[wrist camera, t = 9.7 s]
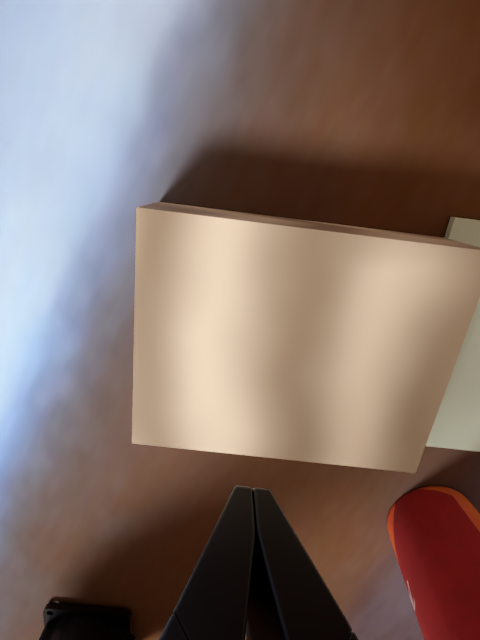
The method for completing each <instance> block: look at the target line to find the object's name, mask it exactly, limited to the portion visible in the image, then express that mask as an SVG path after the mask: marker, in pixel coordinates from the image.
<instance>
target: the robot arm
mask: <svg viewBox="0 0 480 640" xmlns="http://www.w3.org/2000/svg"><path fill="white" fill-rule="evenodd" d="M43 616H44V626H45V627H44V630H43V632H42V634H41V636H40V639H39V640H136V637H135V636H134V634H132V613H131V612H130V611H129V610H123V609H112V608H101V607H90V606H79V605H68V604H57V603H49V604H47V605H46V607H45V609H44V611H43ZM351 631H352V628H351V626H350V625H349V623H348V621H347V620H346V618H345V616H344V615H343V613H342V611H341V609H340V608H339V606H338V604H337V603H336V601H335V599H334V598H333V596H332V594H331V592H330V591H329V589H328V587H327V586H326V584H325V582H324V581H323V579H322V577H321V575H320V574H319V572H318V570H317V569H316V567H315V565H314V564H313V562H312V560H311V559H310V557H309V555H308V553H307V552H306V550H305V548H304V547H303V545H302V543H301V542H300V540H299V538H298V536H297V535H296V533H295V531H294V530H293V528H292V526H291V525H290V523H289V521H288V519H287V518H286V516H285V514H284V513H283V511H282V509H281V508H280V506H279V504H278V503H277V501H276V499H275V497H274V496H273V494H272V492H271V491H270V490H269V489H265V488H253V489H252V488H251V487H247V486H238V485H237V486H235V487H234V489H233V491H232V493H231V495H230V497H229V499H228V501H227V503H226V505H225V507H224V509H223V511H222V513H221V515H220V517H219V519H218V521H217V523H216V525H215V527H214V529H213V531H212V533H211V535H210V537H209V539H208V542H207V544H206V546H205V548H204V550H203V552H202V554H201V556H200V558H199V560H198V562H197V564H196V566H195V568H194V570H193V572H192V574H191V576H190V578H189V580H188V582H187V584H186V586H185V588H184V590H183V592H182V594H181V596H180V598H179V600H178V602H177V604H176V607H175V609H174V611H173V614H172V615H171V616H170V618H169V620H168V622H167V624H166V626H165V628H164V630H163V632H162V634H161V636H160V638H159V640H245V635H246V636H247V640H358V638H357V636H356V635H355V633H354V632H352V633H351Z"/></svg>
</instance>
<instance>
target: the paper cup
mask: <svg viewBox="0 0 480 640" xmlns="http://www.w3.org/2000/svg"><path fill="white" fill-rule="evenodd" d="M387 527H388V531H389V535H390V538H391V541H392V545H393V548H394V551H395V554H396V557H397V560H398V563H399V566H400V569H401V572H402V575H403V578H404V581H405V584H406V587H407V590H408V593H409V596H410V599H411V602H412V605H413V608H414V611H415V614H416V617H417V619H418V622H419V625H420V628H421V631H422V634H423V637H424V640H480V513H479V512H478V511H477V510H476V509H475V507H474V506H473V505H472V504H471V503H470V502H469V500H468V499H467V498H466V497H465V496H464V495H462V494H461V493H460V492H458V491H457V490H454V489H452V488H449V487H444V486H427V487H422V488H418V489H415V490H413V491H410V492H408V493H407V494H405V495H403V496H402V497H401V498H399V499H398V500H397V501H396V502H395V503H394V504H393V506H392V507H391V509H390V511H389V513H388V516H387Z"/></svg>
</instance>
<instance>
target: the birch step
mask: <svg viewBox="0 0 480 640" xmlns="http://www.w3.org/2000/svg"><path fill="white" fill-rule="evenodd" d="M479 298H480V247H476V246H472V245H469V244H465V243H462V242H458V241H455V240H451V239H448V238H444V237H436V236H428V235H420V234H412V233H404V232H396V231H388V230H380V229H372V228H364V227H356V226H349V225H341V224H333V223H325V222H317V221H309V220H301V219H293V218H285V217H277V216H269V215H261V214H253V213H245V212H237V211H229V210H221V209H213V208H205V207H197V206H189V205H181V204H173V203H165V202H156V203H152V204H148V205H144V206H140V207H137V210H136V260H135V310H134V359H133V409H132V443H133V444H142V445H152V446H161V447H171V448H180V449H190V450H199V451H209V452H219V453H228V454H238V455H247V456H257V457H266V458H276V459H285V460H295V461H304V462H314V463H323V464H333V465H342V466H352V467H361V468H371V469H380V470H390V471H400V472H409V473H416V471H417V468H418V465H419V462H420V460H421V457H422V454H423V451H424V449H425V446H426V443H427V440H428V438H429V435H430V432H431V429H432V427H433V424H434V421H435V418H436V416H437V413H438V410H439V407H440V405H441V402H442V399H443V396H444V394H445V391H446V388H447V385H448V383H449V380H450V377H451V374H452V372H453V369H454V366H455V363H456V361H457V358H458V355H459V353H460V350H461V347H462V344H463V342H464V339H465V336H466V333H467V331H468V328H469V325H470V322H471V320H472V317H473V314H474V311H475V309H476V306H477V303H478V300H479Z"/></svg>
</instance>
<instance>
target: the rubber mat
mask: <svg viewBox="0 0 480 640" xmlns="http://www.w3.org/2000/svg"><path fill="white" fill-rule="evenodd" d="M444 238H448V239H451V240H455V241H458V242H462V243H465V244H469V245H472V246H476V247H480V220H473V219H466V218H458V217H450V221H449V224H448V227H447V230H446V233H445V237H444ZM426 446H430V447H440V448H449V449H458V450H468V451H477V452H480V298H479V300H478V303H477V306H476V309H475V311H474V314H473V317H472V320H471V322H470V325H469V328H468V331H467V333H466V336H465V339H464V342H463V344H462V347H461V350H460V353H459V355H458V358H457V361H456V363H455V366H454V369H453V372H452V374H451V377H450V380H449V383H448V385H447V388H446V391H445V394H444V396H443V399H442V402H441V405H440V407H439V410H438V413H437V416H436V418H435V421H434V424H433V427H432V429H431V432H430V435H429V438H428V440H427V443H426Z"/></svg>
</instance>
